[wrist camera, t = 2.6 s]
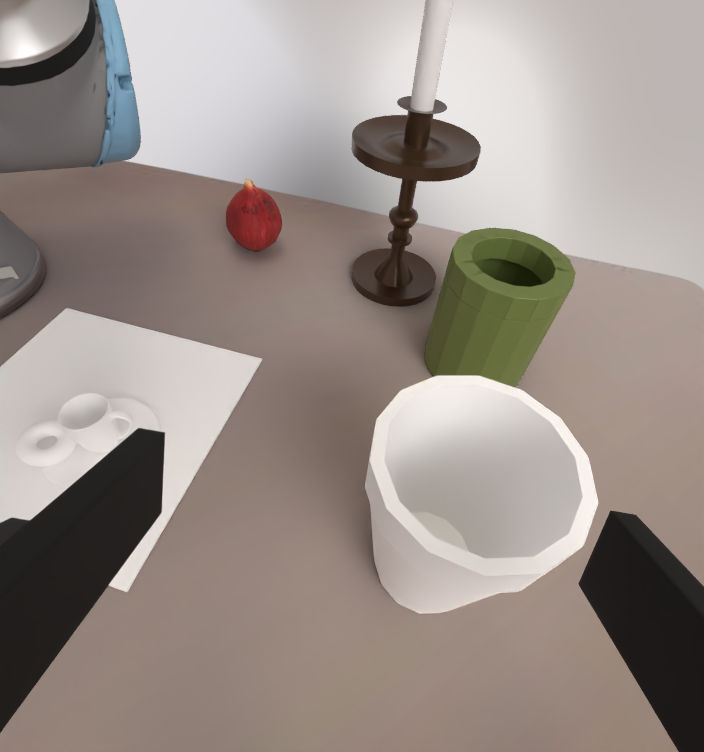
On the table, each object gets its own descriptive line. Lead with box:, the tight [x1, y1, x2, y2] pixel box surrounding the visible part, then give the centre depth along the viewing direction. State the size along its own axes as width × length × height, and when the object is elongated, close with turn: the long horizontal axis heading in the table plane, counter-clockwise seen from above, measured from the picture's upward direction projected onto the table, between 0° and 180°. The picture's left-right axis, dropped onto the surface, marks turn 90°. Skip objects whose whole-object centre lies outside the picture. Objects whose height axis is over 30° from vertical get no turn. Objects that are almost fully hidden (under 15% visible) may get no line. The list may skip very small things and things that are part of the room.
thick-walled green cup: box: [425, 228, 575, 387], centre depth 36 cm, size 9×9×11 cm
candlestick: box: [352, 0, 480, 306], centre depth 34 cm, size 11×11×35 cm
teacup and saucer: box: [14, 392, 161, 490], centre depth 30 cm, size 9×8×4 cm
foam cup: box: [365, 376, 598, 614], centre depth 23 cm, size 10×9×13 cm
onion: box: [226, 179, 282, 251], centre depth 46 cm, size 6×6×8 cm
